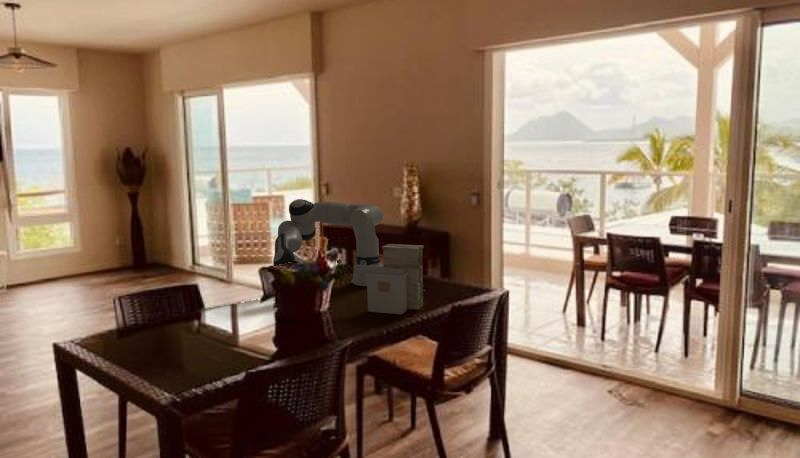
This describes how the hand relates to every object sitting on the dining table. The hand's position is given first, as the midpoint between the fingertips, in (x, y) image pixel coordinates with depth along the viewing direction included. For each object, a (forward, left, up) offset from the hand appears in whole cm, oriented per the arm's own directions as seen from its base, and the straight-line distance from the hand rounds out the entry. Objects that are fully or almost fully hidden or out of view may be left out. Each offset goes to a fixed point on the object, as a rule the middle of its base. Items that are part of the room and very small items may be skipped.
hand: (335, 262), depth 256 cm
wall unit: (-9, +27, -19) cm, 34 cm away
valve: (-21, +26, -20) cm, 39 cm away
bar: (0, +20, -3) cm, 20 cm away
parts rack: (0, +23, -19) cm, 30 cm away
